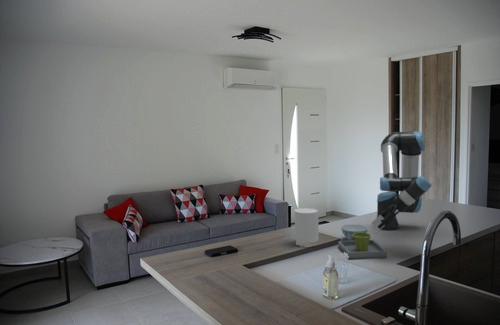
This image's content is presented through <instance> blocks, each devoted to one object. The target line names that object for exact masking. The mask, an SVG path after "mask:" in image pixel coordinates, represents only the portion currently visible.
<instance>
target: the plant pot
mask: <svg viewBox="0 0 500 325" xmlns="http://www.w3.org/2000/svg"><path fill="white" fill-rule="evenodd" d="M353 236H354V240H355V247H356V251H359V252H365V251H368V244H369V240H371V239H370V238H371V236H372V235H371V234H370V233H368V232H367V233H362V232H359V233H354V234H353Z"/></svg>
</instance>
